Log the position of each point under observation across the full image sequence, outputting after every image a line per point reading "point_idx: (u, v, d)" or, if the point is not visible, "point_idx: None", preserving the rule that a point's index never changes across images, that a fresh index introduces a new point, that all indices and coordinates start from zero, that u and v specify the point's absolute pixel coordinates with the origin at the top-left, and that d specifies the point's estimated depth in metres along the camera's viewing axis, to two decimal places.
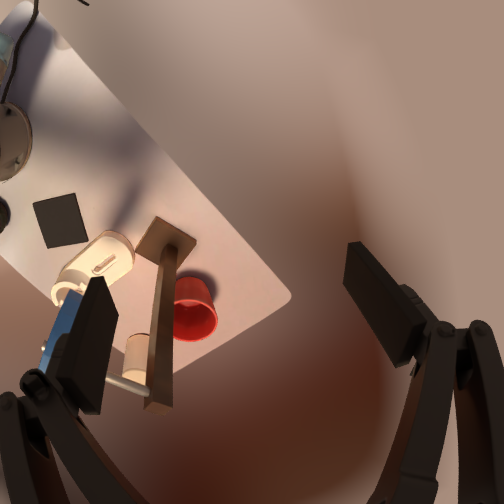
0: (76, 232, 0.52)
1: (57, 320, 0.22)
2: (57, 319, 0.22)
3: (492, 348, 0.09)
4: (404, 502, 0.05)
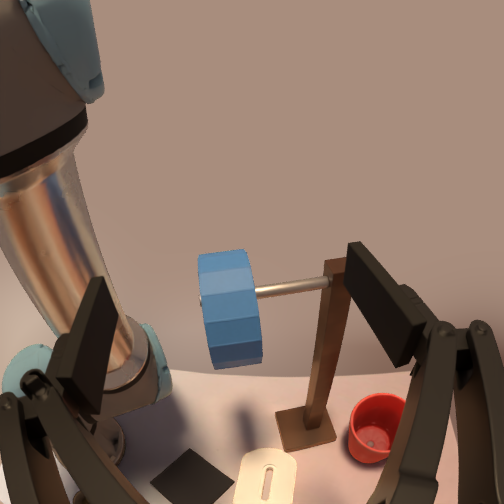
0: (215, 480, 0.39)
1: None
2: None
3: (492, 348, 0.09)
4: (404, 502, 0.05)
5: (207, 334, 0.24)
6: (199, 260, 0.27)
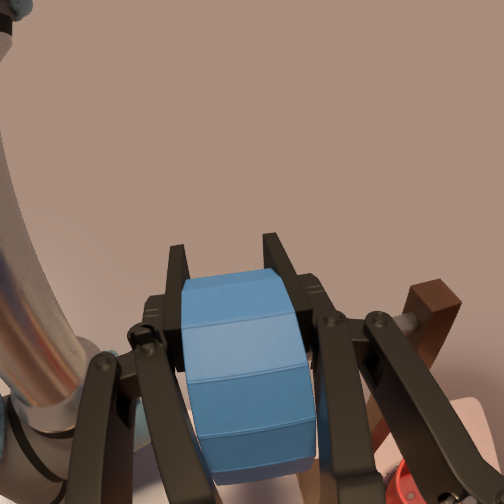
0: None
1: None
2: None
3: (398, 338, 0.10)
4: None
5: (205, 455, 0.10)
6: (184, 294, 0.13)
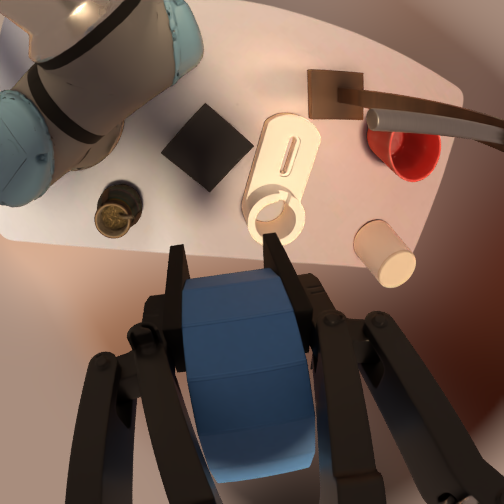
0: (233, 144, 0.45)
1: None
2: None
3: (398, 338, 0.10)
4: None
5: (206, 452, 0.10)
6: (184, 293, 0.13)
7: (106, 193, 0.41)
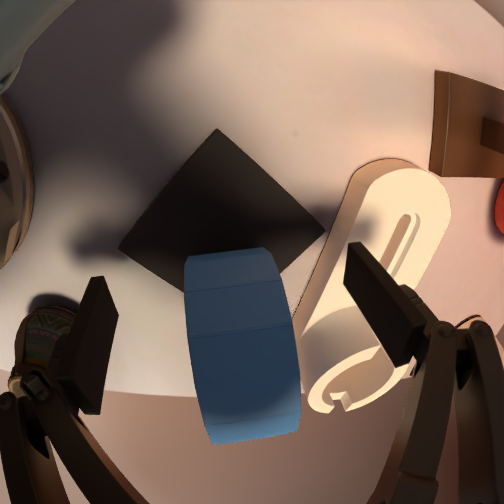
0: (283, 228, 0.20)
1: None
2: None
3: (492, 349, 0.09)
4: (404, 502, 0.05)
5: (202, 406, 0.12)
6: (186, 266, 0.15)
7: (22, 338, 0.17)
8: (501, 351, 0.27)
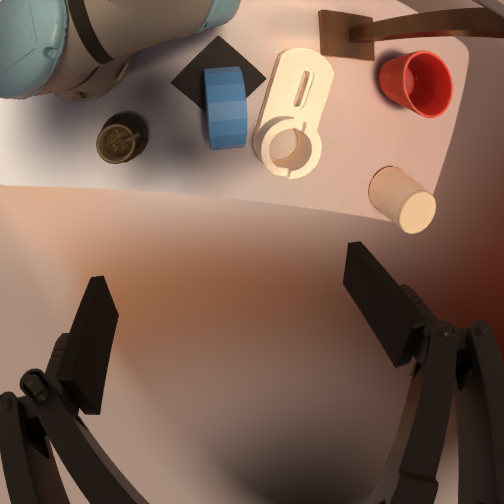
0: (246, 75, 0.40)
1: None
2: None
3: (492, 349, 0.09)
4: (404, 502, 0.05)
5: (207, 94, 0.31)
6: None
7: (111, 119, 0.36)
8: (415, 181, 0.47)
